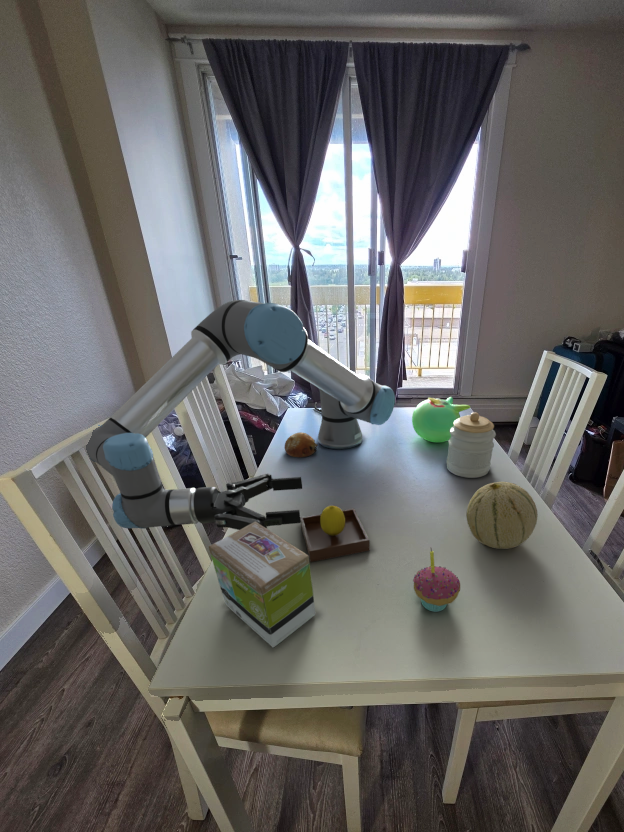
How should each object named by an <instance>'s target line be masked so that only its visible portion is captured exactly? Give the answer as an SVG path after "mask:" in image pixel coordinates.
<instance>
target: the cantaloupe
mask: <svg viewBox="0 0 624 832" xmlns="http://www.w3.org/2000/svg"><path fill="white" fill-rule="evenodd" d="M466 521H467V525H468V528H469V531H470V532H471V534H472V536H473V537H474V538H475V539H476V540H477V541H479V543H481V544H483V545H485V546H487V547H489V548H491V549H492V548H493V549H497V550H499V549H501V550H502V549H503V550H504V549H505V550H507V549H513V548H516V547H519V546H520V545H522V544H524V543H525V542H526V541H527V540H528V539H529V538H530V536H531V535H533V533H534V531H535V529H536V526H537V522H538V508H537V504H536V502H535V501H534V498H533V497H532V496H531V494H530V493H529V492H528V491H527V490H526V489H525V488H523V487H521V486H520V485H518V484H515V483H513V482H508V481H497V482H490V483H488V484H485V485H483V486H481V487H480V488H478V489H476V491H475V492H474V493H473V495H472V496H471V498H470V500H469V502H468V504H467V508H466Z"/></svg>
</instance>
